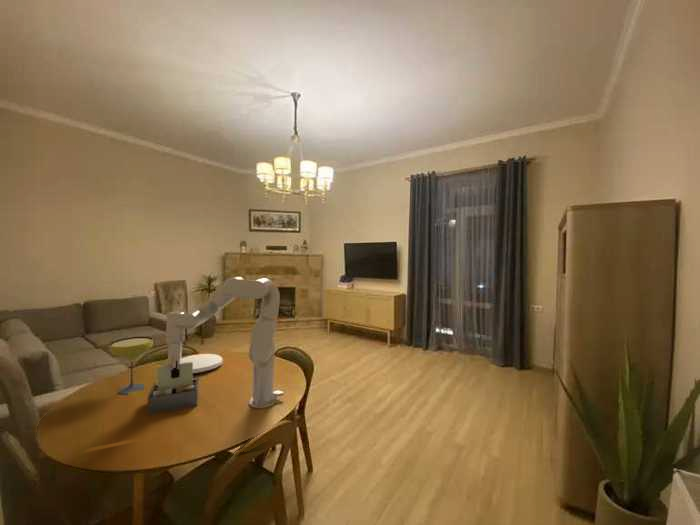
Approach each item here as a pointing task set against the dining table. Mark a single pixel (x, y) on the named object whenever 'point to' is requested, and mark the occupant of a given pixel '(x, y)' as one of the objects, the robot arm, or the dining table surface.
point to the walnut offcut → (185, 389)
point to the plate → (203, 362)
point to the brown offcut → (162, 392)
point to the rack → (173, 399)
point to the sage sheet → (182, 380)
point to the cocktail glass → (131, 355)
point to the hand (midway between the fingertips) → (175, 376)
